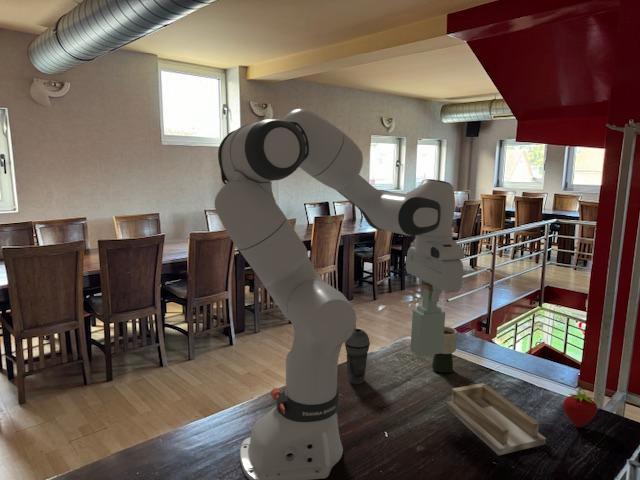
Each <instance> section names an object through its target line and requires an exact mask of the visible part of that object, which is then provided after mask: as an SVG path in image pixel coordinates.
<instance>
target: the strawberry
mask: <svg viewBox="0 0 640 480" xmlns="http://www.w3.org/2000/svg"><path fill="white" fill-rule="evenodd" d="M581 389H582V391H583V393H584V394H583V393H582V392H581V391H579V390H578V391H577V394H574V393H573V394H572V393H569V394H568V395H569V396H568V397H566V398H564V401H563V409H564V413H565V414H566V416H567V417H568V419H569V420H570V421H571V422H572V423H573V425H574V426H575V427H576V428H582V427H584V426H586V424H589V422H590V421H592V420H593V419H594V418H595V416H596V414H597V413H598V405H597V404H596V402H595V401H594V400H595V398H594V397H591V396H588V395H587V394H586V393H585V391H584V388H581Z"/></svg>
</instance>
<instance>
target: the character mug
mask: <svg viewBox="0 0 640 480" xmlns="http://www.w3.org/2000/svg"><path fill="white" fill-rule="evenodd" d="M457 340H458V330H457V329H456V328H453V327H451V326H445V325H444V339H443V352H442V353H440V354H433V359H432V363H431V364H432V365H431V367H432V369H433V371H435V372H439V373H444V374H445V373H452V372H453V371H454V362H453V361H454V360H453V354H454V353H455V352H456V350H457Z"/></svg>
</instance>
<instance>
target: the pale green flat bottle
mask: <svg viewBox="0 0 640 480" xmlns="http://www.w3.org/2000/svg"><path fill="white" fill-rule="evenodd" d="M432 287H433V285H431V284H429V283H422V288H423V296H422V301H421V302H422V303H421V305H418V306H416V309H412V319H411V334H410V335H411V336H410V351H411V352H412V353H413V354H415V355H416V356H417V357H424V356H431V355H433V356H434V354H440V353H442V352H443V339H444V326H445V325H446V321H445V320H446V311H444V310H442V308H441V307H439V306H438V302H437V303H433V302H432V301H430V294H432V293H433V290H434V289H432Z"/></svg>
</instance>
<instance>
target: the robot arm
mask: <svg viewBox="0 0 640 480" xmlns="http://www.w3.org/2000/svg"><path fill="white" fill-rule="evenodd" d="M217 158H218V159H217V160H218V161H217V162H218V166H219V168H220V175H221V182H222V184H224V185H223V186H222V187H221V188H220V189H219V191H218V192H217V194H216V196H215V197H214V198H215V199H214V209H215V211H216V213H217V216H218V217H219V221H220V222H221V224H222V225H223V227H224V229H225V231H226V234H227V235H228V237H229V238H230V240H231V241H232V243H233V244H234V245H235V247H236V248H237V250H238V251H239V253H240V254H241V255H242V257H243V258H244V259H245V261H246V262H247V263H248V265H249V266H250V268H251V269H252V270H253V272H254V273H255V275H256V276H257V277H258V278H259V280H260V282H261V283H262V285H263V286H264V288H265V290H266V291H267V293H268V294H269V296H270V297H271V299H272V300H273V301H274V303H275V304H276V306H277V307H278V309H279V310H280V311H281V313H282V314H283V315H284V317H286V318H287V319H288V321H289V322H290V323H291V324H292V328H293V335H294V336H293V341H292V345H291V349H290V351H289V352H288V353H287V355H286V356H285V357H286V358H285V388H284V389H283V391H282V392H281V391H280V389H279V388H278V387H273V388H272V389H271V391H270V396H271V397H272V399H273V400H274V401H276V406H275V407H273V408H272V409H271V410H269V411H268V412H267V413H265V414H264V415H263V416H261V417H260V418H259V419H257V420H256V421H255V423H254V424H253V426H252V429H251V434H250V437H247V438H245V439H244V440H243V441H242V442H241V445H240V447H239V448H240V449H239V461H240V466H241V469H242V472H243V474H244V475H245V476H246V477H247V479H248V480H319V479H327V478H328V477H329V475H330V473H331V472H332V468H333V467H334V466H336V464H337V463H338V462H339V461H340V460H341V458H342V457H343V456H342V455H343V452H344V448H343V445H342V441H341V438H340V436H341V435H340V433H339V432H340V431H339V430H340V429H339V425H338V423H339V422H338V415H339V408H340V395H339V394H340V393H339V389H338V367H339V356H340V353H341V349H342V346H343V344H345V341H346V340H348V339H349V337H350V336H351V335H352V333H353V331H354V329H355V325H356V324H357V315H356V311H355V309H354V307H353V305H352V304H351V303H350V301H349V300H348V299H347V298H346V296H345V294H344V293H343V292H341V291H340V290H338V289H336V288H335V287H334V286H332V285H330V284H328V283H327V282H326V281H325V280H324V279H323V278H322V277H321V276H320V275H319V274H318V272H317V271H316V269H315V268H314V266H313V264H312V262H311V259H310V257H309V255H308V249H307V247H306V246H305V244H304V242H303V240H302V239H301V238H300V236H299V235H298V233H297V231H296V230H295V228H294V227H293V225H292V224H291V222H290V221H289V220H288V218H287V216H286V215H285V214H284V212H283V210H282V209H281V208H280V206H279V204H278V203H277V201H276V199H275V196H274V194H273V187H272V186H273V185H272V182H273V181H280V180H283V179H286V178H287V177H289V176H291V175H292V174H294V173H295V172H296V171H297V169H298V168H299V169H301V170H302V171H304V172H305V173H306V174H308V175H309V176H311V177H312V178H314V179H315V180H316V181H318V182H320V183H321V184H323V185H325V186H326V187H328V188H331V189H333V190H335V191H336V192H338V193H339V194H340V195H341V196H342V197H344V198H345V199H346V200H347V201H348V202H350V203H351V204H352V205H354V206H355V207H356V208H357V209H359V211H360V212H361V214H362V215H363V217H364V220H366V222H367V224H368V225H369V226H370V227H371V228H372V229H374V230H378V231H383V232H384V231H385V232H391V233H395V234H399V235H403V236H406V237H407V236H408V237H415V238H414V239H413V241H412V242H410V247H409V248H408V249H407V255H406V260H405V270H406V273H407V274H409V275H410V276H411V275H412V276H414V277H415V278H417V279H418V284H419V286H420V290H421V291H420V296H421V297H423V288H422V283H429V284H431V285H433V287H432V289H434V290H433V293H432V294H430V301H432V302H433V303H437V304H438V303H439V301H440V296H441V294H442V292H445V293H448V294H449V293H457V292H458V293H459V291H460V290H461V289H462V286H463V279H464V264H463V261H462V260H464V258H465V254H466V252H465V250H464V249H463V248H462V247H461V246H459V244H458V243H457V242H456V241H455V240H454V239H453V234H454V232H453V228H452V227H453V221H454V219H455V211H456V210H455V209H456V205H455V204H456V200H455V199H456V197H455V190H454V189H455V188H454V186H453V185H452V184H451V183H450V182H448V181H445V180H439V179H438V180H437V179H432V178H431V179H430V178H429V179H428V178H427V179H423V180H422V181H421V182H420V184H419V185H418V186H417V187H415V188H414V189H411V191H408V192H406V193H400V192H394V191H389V190H383V189H377V188H376V187H374V186H373V185H372V184H371V183H369V181H367V180H366V179H365V178H364V177H363V176H361V175H360V173H361V170H362V168H363V164H364V163H363V162H364V161H363V160H364V157H363V151H362V150H361V149H360V147H359V146H358V145H357V144H356V142H355V141H354V140H353V139H351V138H350V137H349V135H347V133H345V132H343V131H342V130H341V129H339V128H338V127H337V126H336V125H334V124H333V123H331V122H330V121H328V120H326V119H325V118H323V117H322V116H320V115H319V114H316V113H314V112H312V111H311V110H309V109H306V108H295V109H293V110H291V111H290V112H288V113H287V114H286V115H285V116H284V117H283V118H282V119H277V118H268V119H263V120H260V121H257V122H251V123H246V124H244V125H242V126H240V127H238V128H237V129H235V130H233V131H230V132H229V133H228V134H227V135H226V136H224V138H223V139H222V140H221V142H220V144H219V147H218V152H217ZM356 326H357V325H356Z"/></svg>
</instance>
